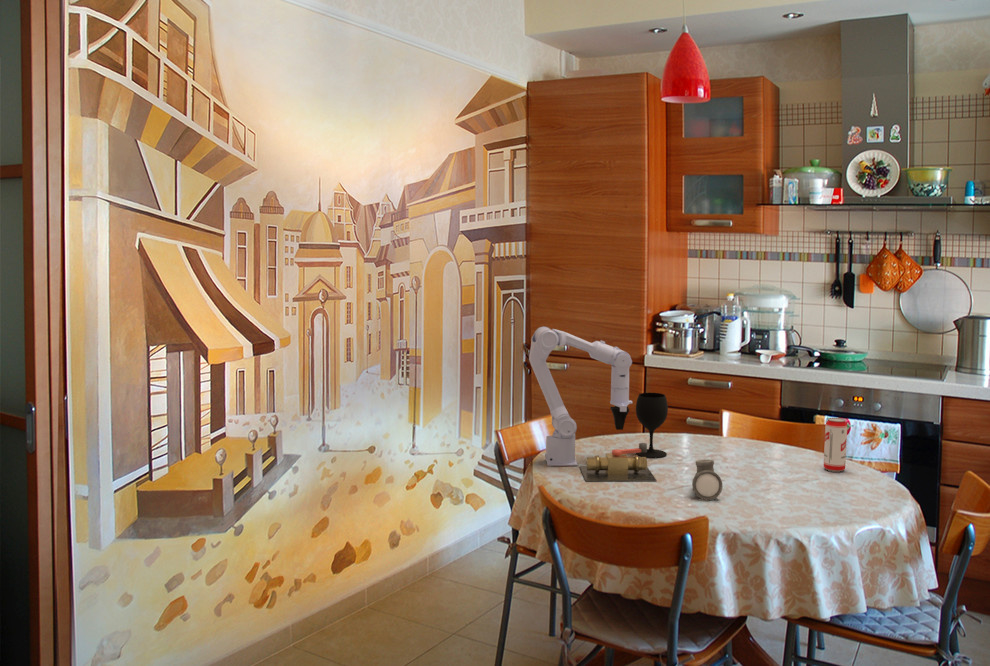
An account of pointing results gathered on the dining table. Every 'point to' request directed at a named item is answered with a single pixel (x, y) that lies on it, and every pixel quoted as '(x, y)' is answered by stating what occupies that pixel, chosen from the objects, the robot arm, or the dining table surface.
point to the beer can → (835, 444)
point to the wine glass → (651, 418)
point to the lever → (631, 450)
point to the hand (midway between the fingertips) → (619, 429)
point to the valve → (617, 469)
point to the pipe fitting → (706, 480)
